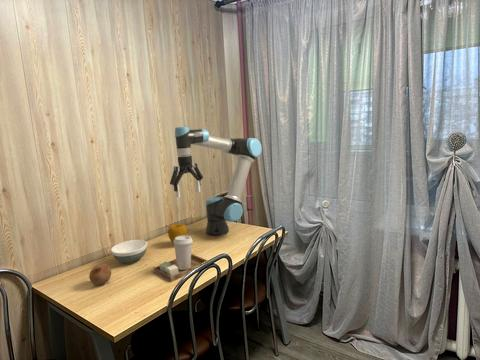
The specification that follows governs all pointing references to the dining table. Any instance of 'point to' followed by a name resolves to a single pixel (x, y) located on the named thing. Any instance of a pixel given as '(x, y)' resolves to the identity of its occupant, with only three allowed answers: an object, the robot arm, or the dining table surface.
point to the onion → (100, 274)
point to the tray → (194, 263)
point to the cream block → (172, 270)
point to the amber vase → (177, 231)
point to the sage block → (165, 266)
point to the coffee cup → (183, 251)
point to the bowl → (129, 251)
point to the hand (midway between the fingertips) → (188, 194)
